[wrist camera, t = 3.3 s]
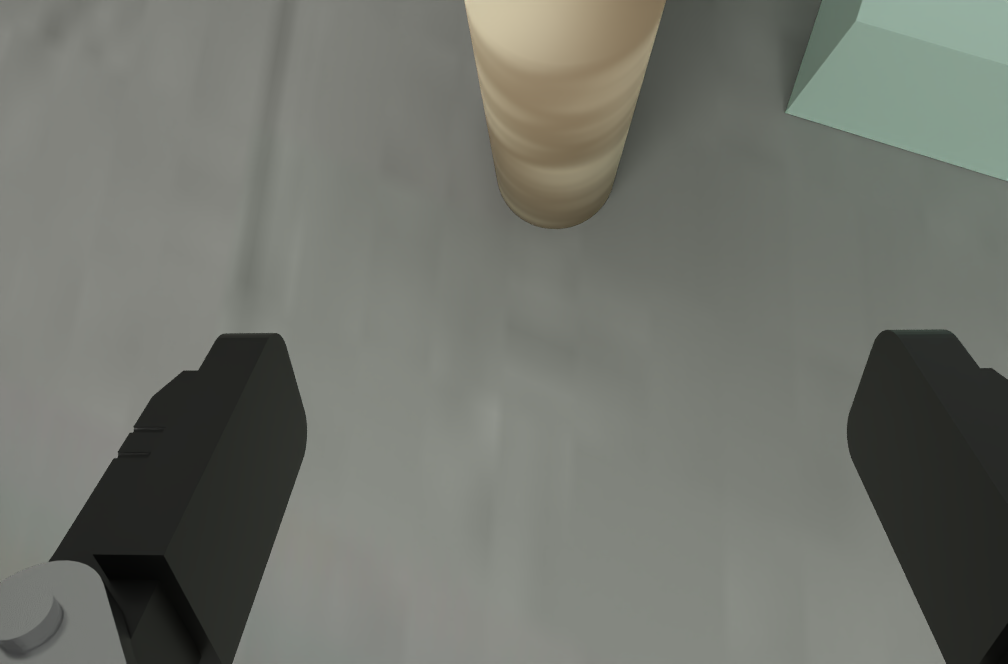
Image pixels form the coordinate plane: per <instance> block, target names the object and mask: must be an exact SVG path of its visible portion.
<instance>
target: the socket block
mask: <svg viewBox="0 0 1008 664" xmlns="http://www.w3.org/2000/svg"><path fill="white" fill-rule="evenodd" d="M785 113H787V114H791V115H794V116H797V117H800V118H804V119H807V120H810V121H813V122H817V123H820V124H823V125H826V126H830V127H833V128H836V129H839V130H843V131H846V132H849V133H852V134H856V135H859V136H862V137H865V138H869V139H872V140H875V141H878V142H882V143H885V144H888V145H891V146H895V147H898V148H901V149H904V150H908V151H911V152H914V153H917V154H921V155H924V156H927V157H930V158H934V159H937V160H940V161H943V162H947V163H950V164H953V165H956V166H960V167H963V168H966V169H969V170H973V171H976V172H979V173H982V174H986V175H989V176H992V177H995V178H999V179H1002V180H1005V181H1008V0H822V2H821V5H820V8H819V11H818V14H817V18H816V21H815V24H814V27H813V30H812V33H811V36H810V39H809V42H808V45H807V48H806V51H805V54H804V57H803V60H802V63H801V66H800V69H799V72H798V75H797V78H796V81H795V84H794V88H793V91H792V94H791V97H790V100H789V103H788V106H787V109H786V112H785Z"/></svg>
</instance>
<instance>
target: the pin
mask: <svg viewBox="0 0 1008 664" xmlns="http://www.w3.org/2000/svg"><path fill="white" fill-rule="evenodd" d="M464 1H465V7H466V12H467V18H468V23H469V29H470V34H471V39H472V45H473V50H474V56H475V61H476V67H477V72H478V78H479V83H480V89H481V94H482V99H483V105H484V110H485V116H486V121H487V127H488V132H489V138H490V143H491V149H492V154H493V159H494V165H495V170H496V176H497V181H498V186H499V190H500V192H501V195H502V197H503V199H504V201H505V202H506V204H507V205H508V206H509V208H510V209H511V210H512V211H513V212H514V213H515V214H516V215H517V216H519V217H520V218H521V219H523V220H524V221H526V222H528V223H530V224H533V225H535V226H538V227H542V228H548V229H562V228H568V227H572V226H575V225H578V224H580V223H582V222H584V221H586V220H588V219H589V218H591V217H592V216H593V215H595V214H596V213H597V212H598V211H599V210H600V209H601V207H602V206H603V205H604V204H605V202H606V200H607V199H608V197H609V194H610V192H611V190H612V186H613V183H614V179H615V176H616V172H617V169H618V165H619V162H620V158H621V155H622V152H623V148H624V145H625V141H626V138H627V134H628V131H629V127H630V124H631V120H632V117H633V113H634V110H635V106H636V103H637V100H638V96H639V93H640V89H641V86H642V82H643V79H644V75H645V72H646V68H647V65H648V61H649V58H650V54H651V51H652V48H653V44H654V41H655V37H656V34H657V30H658V27H659V23H660V20H661V16H662V13H663V9H664V6H665V2H666V0H464Z"/></svg>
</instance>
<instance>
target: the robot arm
mask: <svg viewBox="0 0 1008 664" xmlns="http://www.w3.org/2000/svg"><path fill="white" fill-rule="evenodd" d="M847 440H848V447H849V452H850V455H851V458H852V461H853V463H854V465H855V467H856V469H857V472H858V474H859V476H860V478H861V480H862V482H863V485H864V487H865V489H866V491H867V493H868V495H869V498H870V500H871V502H872V504H873V506H874V508H875V510H876V513H877V515H878V517H879V519H880V521H881V523H882V526H883V528H884V530H885V532H886V534H887V536H888V539H889V541H890V543H891V545H892V547H893V549H894V552H895V554H896V556H897V558H898V560H899V562H900V564H901V567H902V569H903V571H904V573H905V575H906V577H907V580H908V582H909V584H910V586H911V588H912V590H913V593H914V595H915V597H916V599H917V601H918V603H919V605H920V608H921V610H922V612H923V614H924V616H925V618H926V621H927V623H928V625H929V627H930V629H931V631H932V634H933V636H934V638H935V640H936V642H937V644H938V646H939V649H940V651H941V653H942V655H943V657H944V659H945V662H946V664H1008V379H1006V378H1005V377H1003V376H1002V375H1000V374H999V373H998V372H996V371H995V370H993V369H992V368H979V366H978V365H977V364H976V362H975V361H974V360H973V358H972V357H971V356H970V354H969V353H968V352H967V350H966V349H965V348H964V346H963V345H962V344H961V342H960V341H959V340H958V338H957V337H956V336H955V335H954V334H953V333H951V332H950V331H948V330H885V331H882V332H881V333H880V334H879V335H878V336H877V338H876V339H875V341H874V344H873V347H872V349H871V352H870V355H869V358H868V361H867V364H866V367H865V369H864V372H863V375H862V378H861V381H860V384H859V387H858V390H857V392H856V395H855V398H854V401H853V404H852V407H851V410H850V413H849V416H848V423H847ZM306 441H307V422H306V415H305V411H304V407H303V404H302V400H301V397H300V393H299V389H298V386H297V382H296V379H295V375H294V372H293V368H292V365H291V361H290V358H289V354H288V351H287V347H286V344H285V342H284V340H283V338H282V337H281V335H279V334H277V333H235V334H222V335H220V336H219V337H218V338H217V339H216V341H215V342H214V344H213V346H212V348H211V349H210V351H209V353H208V355H207V356H206V358H205V360H204V362H203V363H202V365H201V367H200V369H199V370H198V371H183V372H181V373H180V374H179V375H178V376H177V377H175V378H174V379H173V380H172V381H171V382H169V383H168V384H167V385H166V386H165V387H163V388H162V389H161V390H160V391H159V392H157V393H156V394H155V395H154V396H153V397H152V398H151V400H150V401H149V403H148V405H147V406H146V408H145V409H144V411H143V413H142V414H141V416H140V417H139V419H138V421H137V422H136V424H135V425H134V432H133V433H129V435H128V437H127V438H126V440H125V441H124V443H123V444H122V446H121V448H120V449H119V451H118V458H114V459H113V460H112V462H111V464H110V465H109V467H108V468H107V470H106V472H105V473H104V475H103V476H102V478H101V480H100V481H99V483H98V484H97V486H96V488H95V489H94V491H93V492H92V494H91V496H90V497H89V499H88V500H87V502H86V504H85V505H84V507H83V508H82V510H81V512H80V513H79V515H78V516H77V518H76V520H75V521H74V523H73V524H72V526H71V528H70V529H69V531H68V532H67V534H66V536H65V537H64V539H63V540H62V542H61V544H60V545H59V547H58V548H57V550H56V552H55V553H54V555H53V556H52V557H51V559H50V560H49V562H46V563H42V564H38V565H35V566H32V567H29V568H27V569H24V570H22V571H19V572H17V573H15V574H14V575H12V576H10V577H8V578H6V579H4V580H3V581H1V582H0V664H232V663H233V660H234V657H235V654H236V651H237V648H238V645H239V642H240V639H241V637H242V634H243V631H244V628H245V625H246V622H247V619H248V616H249V613H250V611H251V608H252V605H253V602H254V599H255V596H256V593H257V590H258V587H259V585H260V582H261V579H262V576H263V573H264V570H265V567H266V564H267V562H268V559H269V556H270V553H271V550H272V547H273V544H274V541H275V538H276V536H277V533H278V530H279V527H280V524H281V521H282V518H283V515H284V512H285V510H286V507H287V504H288V501H289V498H290V495H291V492H292V489H293V486H294V484H295V481H296V478H297V475H298V472H299V469H300V466H301V463H302V460H303V457H304V454H305V449H306Z"/></svg>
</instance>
